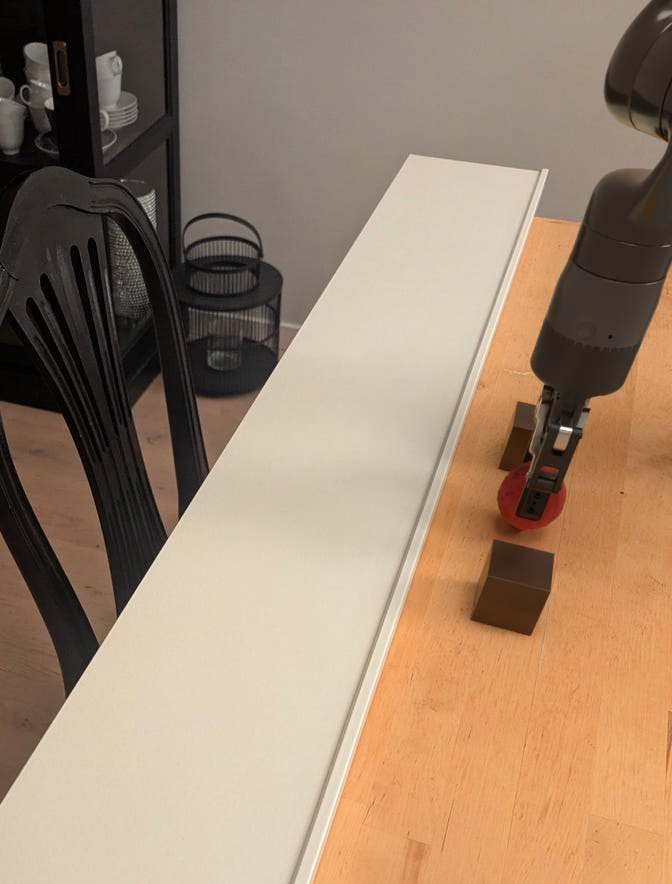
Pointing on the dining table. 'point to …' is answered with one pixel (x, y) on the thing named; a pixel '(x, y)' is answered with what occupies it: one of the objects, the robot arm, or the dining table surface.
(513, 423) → the walnut block far
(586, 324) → the robot arm
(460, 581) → the dining table surface
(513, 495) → the onion
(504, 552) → the walnut block near
